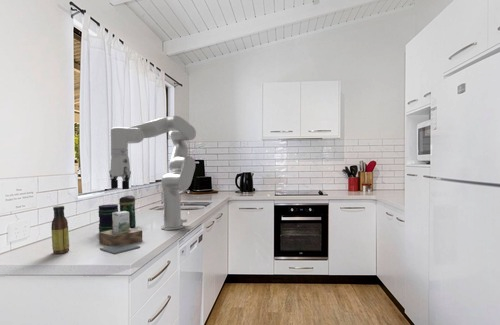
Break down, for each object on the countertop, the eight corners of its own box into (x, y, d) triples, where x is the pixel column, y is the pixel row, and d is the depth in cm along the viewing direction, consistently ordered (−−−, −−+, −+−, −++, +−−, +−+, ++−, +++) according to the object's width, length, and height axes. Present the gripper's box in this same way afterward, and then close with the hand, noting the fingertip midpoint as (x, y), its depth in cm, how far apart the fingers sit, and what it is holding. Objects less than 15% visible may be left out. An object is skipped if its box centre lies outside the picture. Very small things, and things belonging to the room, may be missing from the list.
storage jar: (122, 231, 178) (121, 204, 178) (112, 235, 168) (112, 206, 168) (105, 230, 179) (104, 204, 179) (94, 235, 169) (94, 206, 169)
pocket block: (126, 237, 163) (126, 227, 163) (142, 240, 155) (142, 230, 155) (99, 242, 152) (99, 232, 152) (115, 247, 144) (115, 236, 144)
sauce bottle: (65, 249, 141) (65, 204, 141) (71, 251, 137) (71, 205, 137) (49, 252, 136) (48, 206, 136) (55, 255, 132) (54, 207, 132)
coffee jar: (124, 225, 194) (123, 194, 194) (137, 225, 194) (136, 194, 194) (117, 228, 185) (117, 196, 185) (131, 228, 184) (130, 196, 184)
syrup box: (123, 239, 158) (123, 210, 158) (129, 241, 154) (129, 211, 154) (112, 242, 153) (111, 212, 153) (118, 244, 150) (118, 213, 150)
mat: (125, 243, 150) (125, 242, 150) (140, 247, 143) (140, 246, 143) (100, 249, 140) (100, 248, 140) (114, 254, 133) (114, 252, 133)
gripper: (136, 152, 151) (137, 188, 151) (117, 153, 162) (117, 187, 162) (122, 152, 145) (122, 190, 145) (102, 153, 156) (103, 188, 156)
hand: (119, 188), depth 153 cm, fingers open, 9 cm apart
